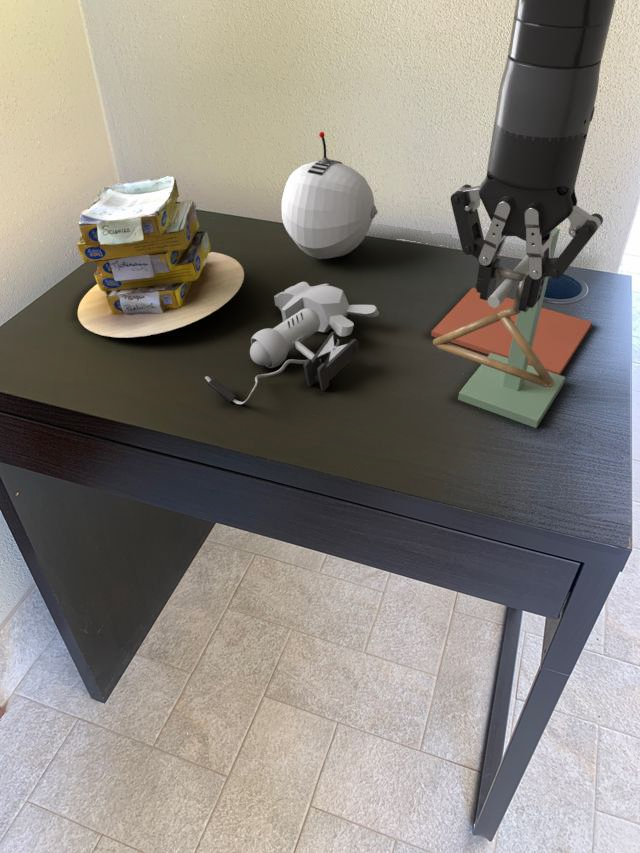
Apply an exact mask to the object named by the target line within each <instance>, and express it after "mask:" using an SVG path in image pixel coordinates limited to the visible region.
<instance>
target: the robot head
mask: <svg viewBox="0 0 640 853" xmlns="http://www.w3.org/2000/svg"><path fill="white" fill-rule="evenodd" d="M318 137H319V138H321V141H322V148H323V157H322V158H321V159H320V160H316V161H312V162H308V163H306V164H303V165H301V166H299V167H298V168H296V169H294V170H293V172H292V173H291V174H290V175H289V177H288V179H287V181H286V183H285V186H284V190H283V193H282V198H281V219H282V223H283V226H284V229H285V231H286V232H287V233H288V236H290V238H291V239H292V241H293V242H294V243H295V245H297V247H298V248H299V249H300V250H301V251H302V252H303V253H304V254H306V255H308V256H310V257H311V258H314V259H319V260H323V259H324V260H326V259H333V258H339V257H343V256H346V255H348V254H350V253H351V252H352V251H354V250H355V249H356V248H358V247H359V245H360V244H361V243H362V242H363V241H364V239H365V238H366V236H367V234H368V233H369V230H370V228H371V226H372V223H373V219H375V217H376V215H377V214H379V213H378V212H379V211H378V209H377V207H376V205H375V198H374V193H373V190H372V188H371V186H370V184H369V183H368V181H367V180H366V178H365V177H364V176H363V175H362V174H360V172H358V171H357V170H355V169H354V168H352V167H351V166H348V165H346V164H344V163H343V162H342V161H340V160H338V161H337V160H334V159H330V158H328V157H327V144H326V139H325V132H323V131H320V132H319V133H318Z"/></svg>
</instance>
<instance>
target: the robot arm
mask: <svg viewBox="0 0 640 853" xmlns="http://www.w3.org/2000/svg"><path fill="white" fill-rule="evenodd" d="M615 4H616V0H516V1H515V6H514V11H513V12H514V13H513V19H512V20H513V21H512V25H511V32H510V39H509V45H508V54H507V56H506V62H505V66H504V70H503V73H502V76H501V79H500V80H501V81H500V83H499V89H498V96H497V102H496V107H495V108H496V109H495V114H494V115H495V116H494V120H493V121H494V122H493V128H492V135H491V142H490V149H489V154H488V162H487V168H486V176H485V178H484V179H483V180H482V182H481V183H480V184H479V185H476V186H472V185H470V184H467V183H466V184H463V185H462V186H461V187H460V188H459V189H457V190H456V191H455V192H454V193H453V194H451V195H450V198H449V199H450V204H451V208H452V213H453V217H454V221H455V225H456V230H457V234H458V238H459V242H460V246H461V250H462V252H463V253H464V255H467V256H470V255H471V256H472V257H475V258H476V260H477V261H478V264H479V265H478V270H477V275H476V276H477V277H476V282H475V289H476V290H477V292H479V293H480V299H483V300H486V301H487V300H488V298H489V297H490V296H491V295H492V294H493V293H494V291H495V290H496V285H497V280H495V279H494V278H493V275H494V270H495V268H496V267H498V266H500V264H501V263H500V262H501V258H499V255H500V253H501V251H502V249H503V246H504V244H505V242H506V239H507V237H516V238H519V239H520V240H522V241H525V251H526V255H527V256H528V261H529V274H528V275H527V276H526V277H525V281H524V286H523V291H522V295H521V300H520V305H519V310H520V311H523V312H527V311H528V309H529V308H533V307H534V306H535V304H536V303H537V302H538V300H539V299H540V298H541V294H542V290H543V285H544V281H545V277H550V278H552V279H555V280H556V279H560V278H561V277H562V276H563V275H564V273H565V272H567V270H568V268H569V267H570V265H571V264H572V263H573V262H574V260H576V258H578V256H579V254H580V253H581V252H582V250H583V249H584V248H585V247H586V245H587V244H588V243H589V241H590V240H591V239H592V237H593V236H594V235H595V234H596V232H597V231H598V230H599V228H600V227H601V226H602V224H603V223H604V218H603V216H602V215H601V214H599V213H592V214H590V213H588V212H587V211H586V210H584V209H582V208H581V207H579V206H578V199H577V195H576V189H575V188H576V183H577V179H578V175H579V171H580V167H581V163H582V158H583V154H584V150H585V145H586V143H587V142H586V141H587V137H588V133H589V129H590V124H591V122H592V121H593V118H594V114H595V109H596V107H595V104H596V100H597V94H598V90H599V82H600V81H599V80H600V71H601V65H602V59H603V56H604V52H605V48H606V43H607V39H608V35H609V30H610V26H611V23H612V19H613V14H614V9H615ZM481 202H482V205H483V207H484V209H485V211H486V213H487V215H488V218H489V220H490V222H491V223H490V225H489V227H488V230H487V232H486V234H485V237H484V233H483V229H482V224H481V220H480V215H479V210H478V209H479V208H480V206H481ZM567 219H568V220H569V222H570V225H569V228H568V235H569V236H571V237H572V239H571V240H570V242H568V244H567V245H566V247H565V248H564V249H563V251H562V252H561V253H560V255H559V256H557V257H553V258H550V249H551V243H552V230H553V229H554V228H558V226H559V225H560V224H561V223H563V222H564V221H565V220H567Z"/></svg>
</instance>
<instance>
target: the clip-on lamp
mask: <svg viewBox="0 0 640 853" xmlns="http://www.w3.org/2000/svg"><path fill="white" fill-rule="evenodd" d="M319 327H320V318H319V316H318V314H317V313H316V312H315V311H313V310H312V309H308V308H304V309H302V310H300V311H299V312H297V313H296V314H294V315H293V316H291V317H290V318H288V319H287V320H285V321H284V322H283V321H281V322H280V323H279V324H278V325H276V326H274V327H273V328H271V327H269V328H263V329H261V330H259V331H256V332H255V333H254V334H253V335H252V336H251V338H250V349H249V356H250V358H251V360H252V362H253V363H254V364H256V365H259V366H265V367H267V368H269V369H274V368H277V367H279V366H280V365H282V366H281V367H280V368H279V369H278V370H276V371H273V372H268V373H264V374H263V373H262V374H257V375H256V376H255V377H254V382H255V384H254V386H253V388H252V390H251V391H250V393H248V394H249V395H248V397H247V398H246V399H245V400H244V401H241V400H237V395H236V394H235V393H233V392H232V391H230V390H229V389H228V388H227V387H226V386H224V384H222V383H221V382H220V381H219V380H218V379H216V378H215V377H212V378H211V377H210V376H209V375H205V376H204V379H205V380H206V381H207V382H208V383H207V385H208V387H209V388H210V389H212V390H213V391H215V393H217V394H218V395H220V397H222V398H223V399H224V400H226V401H227V402H228V403H229V404H232V403H235V404H236V405H244V404H246V403H247V402H248V401H249V399H250V398H251V396H252V395H253V393H254V392H255V390H256V388H257V386H258V383H259V379H262V378H268V377H273V376H276V375H279V374H281V373H283V371H284V370H285V369H286V368H287V366H288V365H290V364H297V365H303V370H304V371H303V372H304V374H305V375H304V376H305V380H306V385H307V386H308V387H310V388H311V387H312V386H313V385H314V384H315V382H316V376H318V377H317V378H318V382H319V388H320V390H321V391H322V392H325V391H326V390H327V389H328V388H329V386H330V381H331V380H332V379H333V378H334V377H335V376H336V375H337V374H339V372H340V371H341V370H342V369H343V368H344V367H345V366H346V365H347V364H348V363H349V362H350V361H352V359H353V358H354V357H355V356H356V355H357V354H358V352H359V350H360V349H359V341H358V339H356V338H353V339H351V340H349V342H348V343H345V344H342V345H340V342H341V341H340V340H339V339H338V335H337V334H336V332H335V331H331V332H330V333H329V335H328V336H327V337H326V339H325V340H324V342H322V344H321V346H320V347H319V348H318V350H317V351H316V352H313V351H312V350H310V349H309V348H308V347H307V346H305V344H303V342H305V341H306V340H307V339H308V338H310V337H312V336H313V335H314V334H315V333H317V332H319V331H318V329H319ZM293 349H296V350H297V351H298V352H300V353H301V354H302V355H303V356H305V357H306V358H307V359H294V358H292V359H287V357H288V355H289V352H290V351H292V350H293Z"/></svg>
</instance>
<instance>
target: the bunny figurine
mask: <svg viewBox="0 0 640 853" xmlns="http://www.w3.org/2000/svg"><path fill="white" fill-rule="evenodd" d="M273 299H274V300H273V301H274V305H275V307H277V308H278V309H279V311H280V312H281V317H282V322H284V321H285V320H287V319H288V318H290V317H291V316H293V315H294V314H296V313H297V312H299V311H300V310H302V309H304V308H308V309H312V310H313V311H315V312H316V313H317V314H318V316H319V318H320V327H319V329H318V331H317V332H320V333H328V332H329V331H330V330H333V332H335V333H336V335H337V336H338V337H347V336H350V335H351V334H352V332H353V330H354V325H355V324H354V322H353V321H352V320H350V319H348V318H347V316H348V315H352V316H360V317H367V318H375V317H379V315H380V313H379V310H378V307H377V306H375V304H350V303H349V301H348V299H347V297H346V295H345V292H344V290H343V289H341V288H339V287H336V286H332V285H330V283H321V284H318V285H314V286H313V285H312V286H311V285H309V283H308V282H307V281H301V282H298V283H296V284H295V285H291V286H289V287H288V288H285V289H284V291H281V292H278V293H277V294H275V295H273Z"/></svg>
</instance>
